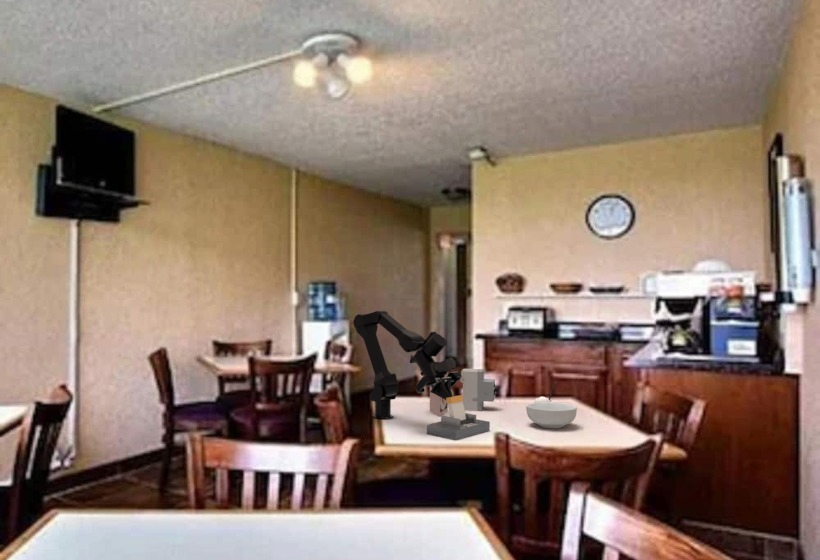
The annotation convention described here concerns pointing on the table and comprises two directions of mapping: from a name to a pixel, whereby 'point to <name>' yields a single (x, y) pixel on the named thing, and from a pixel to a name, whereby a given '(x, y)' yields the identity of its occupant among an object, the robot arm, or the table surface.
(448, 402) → the lever
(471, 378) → the circuit breaker
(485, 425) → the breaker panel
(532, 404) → the cereal bowl
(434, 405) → the pink box
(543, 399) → the white mound with stick
